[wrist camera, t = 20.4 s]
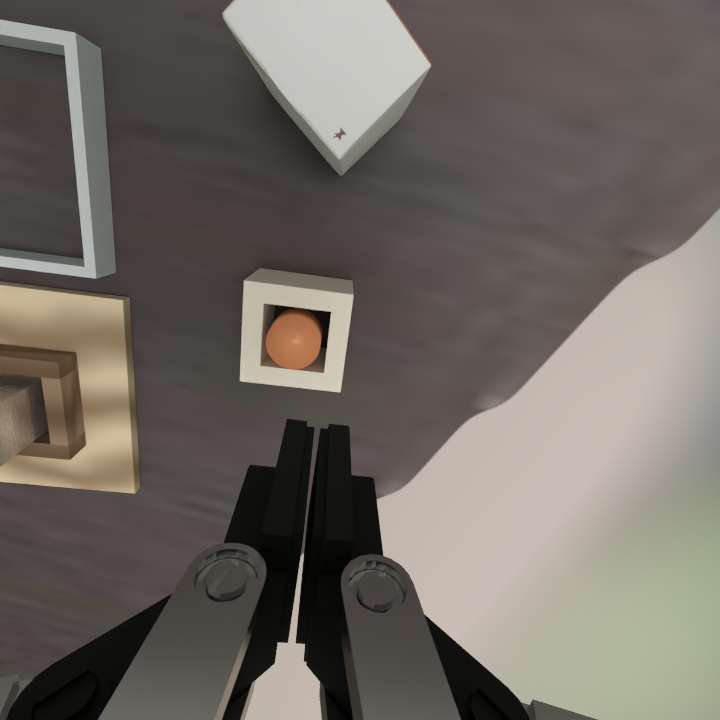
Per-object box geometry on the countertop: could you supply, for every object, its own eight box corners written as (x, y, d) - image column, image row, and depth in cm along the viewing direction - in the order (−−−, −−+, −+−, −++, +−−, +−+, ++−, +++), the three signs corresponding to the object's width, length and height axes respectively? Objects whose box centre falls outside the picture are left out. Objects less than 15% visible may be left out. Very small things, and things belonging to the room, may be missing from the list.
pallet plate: (-94, 269, 34) (-143, 276, 31) (129, 297, 36) (106, 307, 32) (-45, 469, 41) (-81, 493, 38) (140, 485, 43) (122, 510, 39)
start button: (274, 304, 32) (267, 314, 30) (324, 311, 33) (323, 321, 30) (270, 352, 34) (264, 365, 31) (319, 358, 34) (317, 372, 31)
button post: (259, 268, 35) (243, 280, 30) (352, 280, 36) (353, 294, 30) (255, 354, 38) (239, 381, 33) (341, 365, 39) (340, 392, 33)
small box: (401, 118, 32) (436, 66, 20) (340, 178, 33) (338, 164, 21) (329, 21, 29) (318, -107, 17) (267, 89, 31) (216, 16, 19)
